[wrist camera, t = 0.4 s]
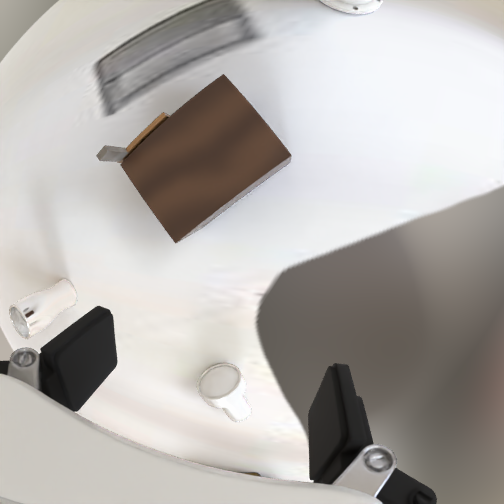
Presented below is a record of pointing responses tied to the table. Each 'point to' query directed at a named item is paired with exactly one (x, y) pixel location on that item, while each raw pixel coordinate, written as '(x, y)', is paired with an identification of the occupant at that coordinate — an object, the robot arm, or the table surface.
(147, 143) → the cabinet
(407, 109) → the table surface
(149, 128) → the sliding door
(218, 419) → the table surface
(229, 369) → the spotlight
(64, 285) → the beer glass
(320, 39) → the table surface
